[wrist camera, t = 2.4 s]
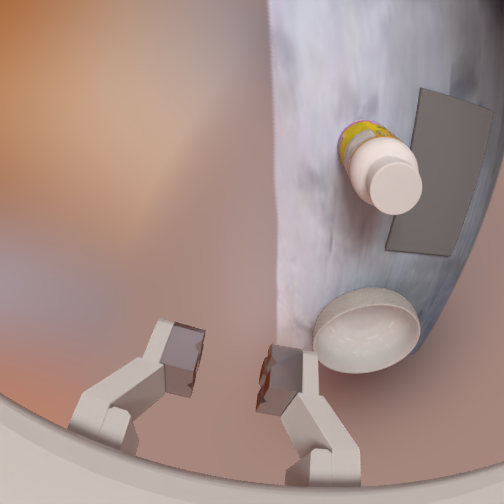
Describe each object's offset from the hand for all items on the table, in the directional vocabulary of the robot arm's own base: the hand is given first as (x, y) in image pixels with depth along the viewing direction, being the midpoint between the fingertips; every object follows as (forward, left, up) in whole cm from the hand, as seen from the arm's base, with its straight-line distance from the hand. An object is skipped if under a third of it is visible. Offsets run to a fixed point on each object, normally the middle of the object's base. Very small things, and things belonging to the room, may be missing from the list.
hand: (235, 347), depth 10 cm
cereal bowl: (+30, +10, -29) cm, 43 cm away
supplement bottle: (+3, +10, -29) cm, 31 cm away
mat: (+8, +20, -29) cm, 36 cm away
